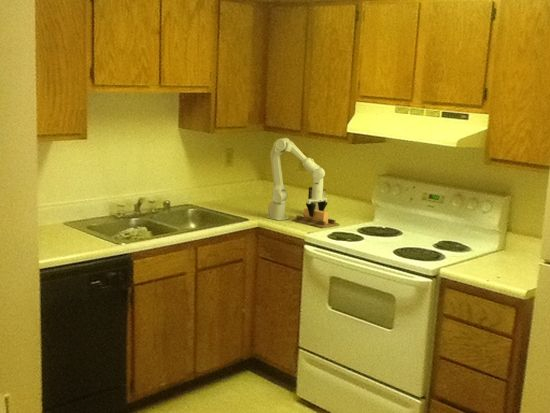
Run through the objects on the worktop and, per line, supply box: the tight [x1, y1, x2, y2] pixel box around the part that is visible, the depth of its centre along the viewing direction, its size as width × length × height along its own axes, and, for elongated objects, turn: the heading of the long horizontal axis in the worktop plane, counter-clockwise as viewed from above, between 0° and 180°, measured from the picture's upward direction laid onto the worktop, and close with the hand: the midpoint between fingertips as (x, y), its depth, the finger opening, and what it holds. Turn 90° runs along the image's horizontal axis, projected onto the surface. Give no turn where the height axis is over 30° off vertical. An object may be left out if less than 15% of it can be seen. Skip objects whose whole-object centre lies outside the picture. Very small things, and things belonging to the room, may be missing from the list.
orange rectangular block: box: [303, 207, 330, 224], centre depth 382 cm, size 14×4×6 cm, turn 46°
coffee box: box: [307, 186, 327, 212], centre depth 400 cm, size 9×6×16 cm
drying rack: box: [291, 214, 341, 229], centre depth 382 cm, size 22×14×3 cm, turn 46°
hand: (315, 215), depth 382 cm, fingers open, 7 cm apart
